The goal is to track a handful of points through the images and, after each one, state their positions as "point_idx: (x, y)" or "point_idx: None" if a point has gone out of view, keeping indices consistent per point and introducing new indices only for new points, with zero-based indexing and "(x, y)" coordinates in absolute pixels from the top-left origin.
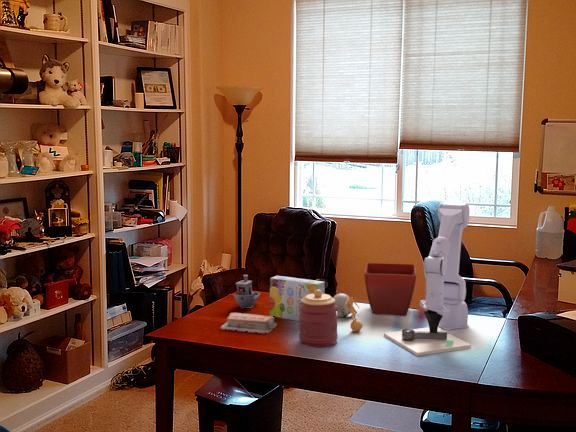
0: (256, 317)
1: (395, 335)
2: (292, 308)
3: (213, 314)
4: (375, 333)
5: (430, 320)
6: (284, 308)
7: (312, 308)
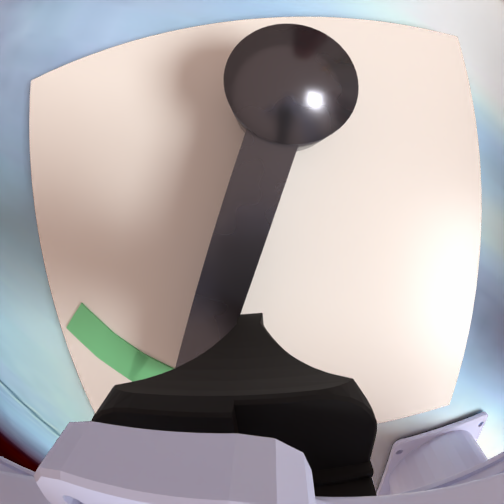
0: None
1: (403, 68)
2: None
3: None
4: (487, 37)
5: (190, 367)
6: None
7: None
